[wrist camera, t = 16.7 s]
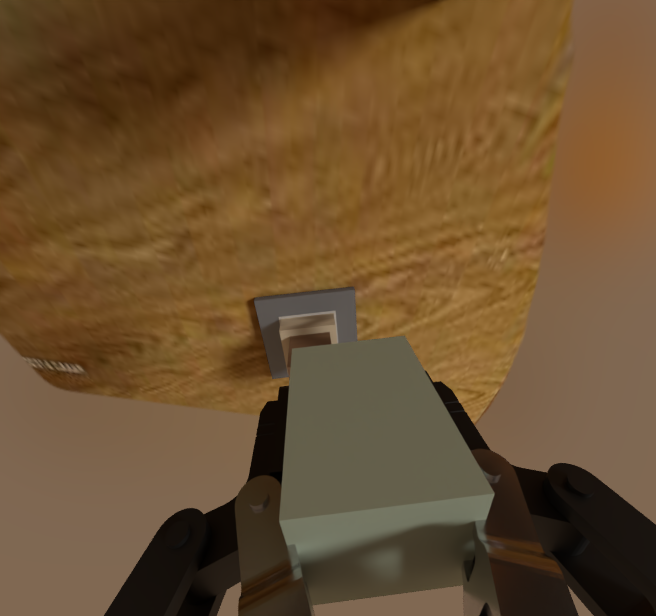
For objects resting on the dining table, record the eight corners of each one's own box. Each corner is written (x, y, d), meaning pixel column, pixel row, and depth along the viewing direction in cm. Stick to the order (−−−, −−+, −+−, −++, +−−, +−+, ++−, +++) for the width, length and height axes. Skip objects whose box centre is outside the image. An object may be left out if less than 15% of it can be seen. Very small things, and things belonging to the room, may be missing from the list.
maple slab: (333, 313, 37) (335, 324, 35) (337, 355, 41) (339, 368, 38) (281, 318, 37) (279, 330, 34) (289, 360, 40) (288, 374, 38)
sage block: (404, 335, 11) (494, 493, 6) (401, 415, 13) (464, 584, 8) (292, 348, 11) (279, 521, 6) (306, 426, 13) (306, 606, 8)
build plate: (353, 286, 37) (354, 290, 36) (357, 364, 43) (358, 369, 42) (255, 297, 37) (253, 301, 36) (273, 374, 43) (272, 379, 42)
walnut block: (329, 331, 35) (333, 361, 30) (332, 363, 37) (337, 396, 32) (289, 336, 35) (286, 367, 30) (295, 367, 37) (293, 401, 32)
